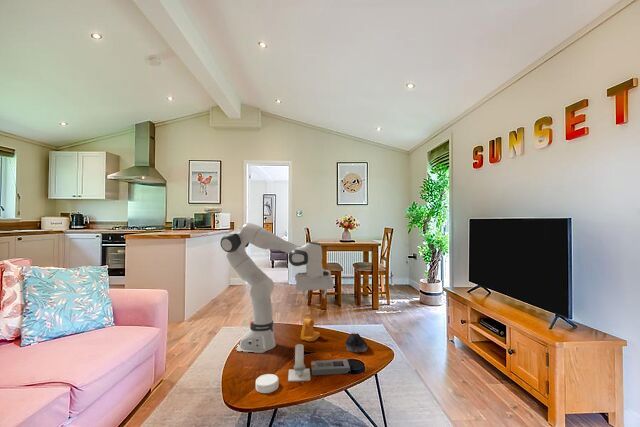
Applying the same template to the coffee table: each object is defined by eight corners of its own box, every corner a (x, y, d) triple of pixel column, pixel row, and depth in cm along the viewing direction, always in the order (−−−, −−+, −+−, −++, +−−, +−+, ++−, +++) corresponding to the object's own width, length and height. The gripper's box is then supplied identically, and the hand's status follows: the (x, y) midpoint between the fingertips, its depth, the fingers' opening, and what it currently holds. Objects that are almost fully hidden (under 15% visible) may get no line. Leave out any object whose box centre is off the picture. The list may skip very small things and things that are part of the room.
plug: (293, 377, 133) (293, 348, 134) (293, 371, 139) (293, 343, 139) (305, 377, 133) (305, 348, 134) (305, 371, 139) (305, 343, 140)
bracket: (309, 342, 174) (309, 322, 174) (300, 340, 178) (300, 320, 178) (320, 337, 182) (320, 317, 183) (311, 334, 187) (310, 315, 187)
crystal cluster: (357, 343, 174) (355, 326, 174) (374, 348, 163) (371, 330, 163) (340, 351, 166) (338, 333, 166) (356, 357, 155) (353, 338, 156)
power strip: (312, 375, 136) (311, 368, 136) (311, 366, 145) (311, 359, 145) (350, 373, 137) (350, 366, 137) (347, 364, 146) (346, 357, 146)
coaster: (277, 393, 122) (277, 384, 122) (253, 394, 122) (253, 386, 122) (279, 380, 132) (279, 372, 132) (257, 381, 132) (257, 374, 132)
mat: (288, 381, 131) (288, 380, 131) (288, 370, 141) (288, 369, 141) (310, 380, 131) (310, 379, 131) (309, 369, 141) (309, 368, 141)
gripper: (294, 273, 152) (295, 300, 152) (333, 272, 154) (334, 298, 153) (295, 271, 159) (295, 297, 158) (332, 270, 160) (333, 295, 160)
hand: (315, 298), depth 156 cm, fingers open, 8 cm apart
